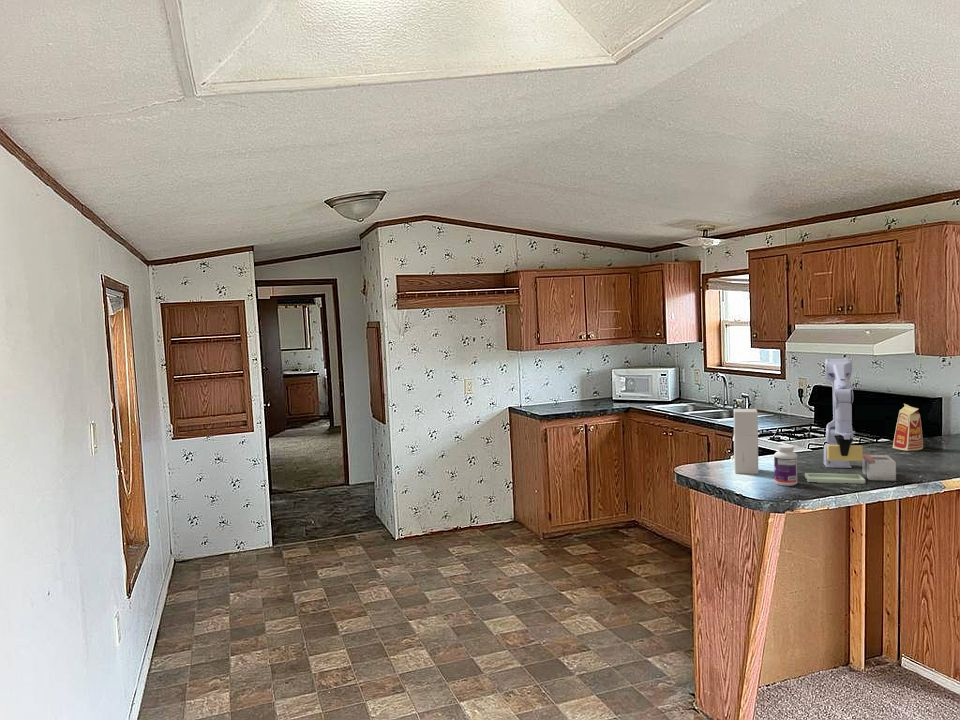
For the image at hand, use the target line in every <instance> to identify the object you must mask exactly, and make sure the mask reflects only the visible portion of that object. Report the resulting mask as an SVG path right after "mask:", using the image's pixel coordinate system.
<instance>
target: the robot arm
mask: <svg viewBox="0 0 960 720" xmlns="http://www.w3.org/2000/svg"><path fill="white" fill-rule="evenodd" d="M824 370H825V371H824V372H825V378H826V380H828V381H830V383H831V387H832V415H833V416H832V420H831V421H830V422H828V423H827V424H826V427H825V429H826V430H825V441H826V443H827V444H824V445H823V465H824V466H825V468H840V469H841V468H843V469H844V468H845V469H849V468H850V469H852V465H851V464H850V461H841V460H828V459H827V445H839V446H840V452H841V456H848V452H849V448H850V445H853V442H854V434H856V431H855V430H853V425H852V424H853V418H852V417H853V415H852V414H853V413H852V412H853V411H852V410H853V408H852V404H853V402H854V391H853V388H852V387H851V383H850V380H851V377H852V372H853V360H852V359H851V357H848V358H825V361H824Z"/></svg>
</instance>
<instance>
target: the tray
mask: <svg viewBox="0 0 960 720" xmlns="http://www.w3.org/2000/svg"><path fill="white" fill-rule="evenodd" d="M804 478H805V479H807V480H806V481H807V483H808V482H817V483H816V484H845V483H848V485H849V484H851V485H852V484H854V485H866V479H865V478H864V477H863V476H862V475H861V474H860V473H859V474H858V473H829V472H827V473H826V472H825V473H822V472H821V473H820V472H818V473H817V472H816V473H815V472H804Z"/></svg>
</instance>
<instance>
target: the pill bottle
mask: <svg viewBox="0 0 960 720" xmlns="http://www.w3.org/2000/svg"><path fill="white" fill-rule="evenodd" d="M794 448H795V447H794V445H791V444H790V445H789V444H778V445H777V451H776V452H775V453H774V454H773V455H774V461H773V462H774V463H773V464H774V471H773V474H774V475H773V476H774V477H773V478H774V481H773V482H775V484H776V485H779V486H784V487H791V486H796V485H797V484H798V454H797V452H795V451H794Z"/></svg>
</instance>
